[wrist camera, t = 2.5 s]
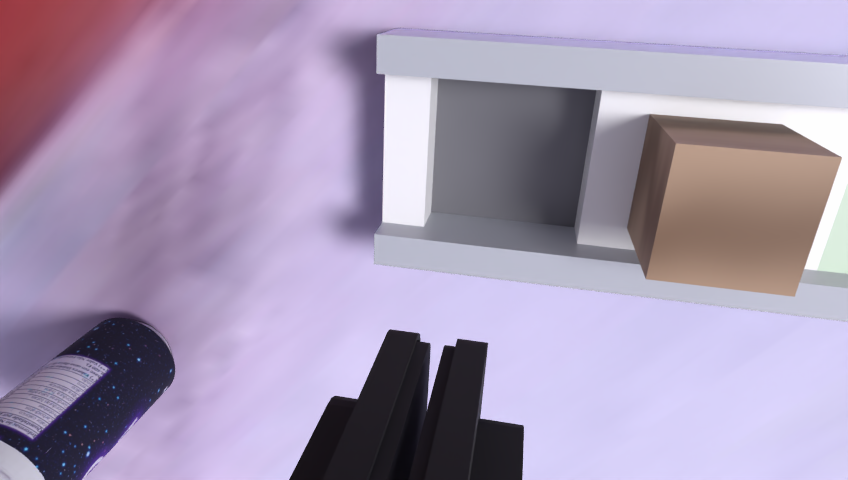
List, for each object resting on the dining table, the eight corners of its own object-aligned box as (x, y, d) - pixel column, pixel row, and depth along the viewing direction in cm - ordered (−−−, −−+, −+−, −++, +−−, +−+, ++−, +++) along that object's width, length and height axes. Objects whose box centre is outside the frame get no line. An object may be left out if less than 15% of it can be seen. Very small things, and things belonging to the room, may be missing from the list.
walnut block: (649, 113, 24) (675, 143, 19) (782, 124, 23) (842, 157, 18) (626, 228, 26) (645, 279, 21) (748, 240, 25) (794, 296, 20)
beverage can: (89, 355, 38) (-92, 503, 27) (115, 293, 35) (-72, 428, 25) (165, 401, 38) (17, 565, 27) (196, 343, 36) (47, 497, 25)
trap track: (398, 28, 26) (376, 34, 23) (1332, 85, 21) (1493, 105, 18) (393, 231, 30) (373, 264, 27) (1178, 320, 25) (1284, 375, 22)
